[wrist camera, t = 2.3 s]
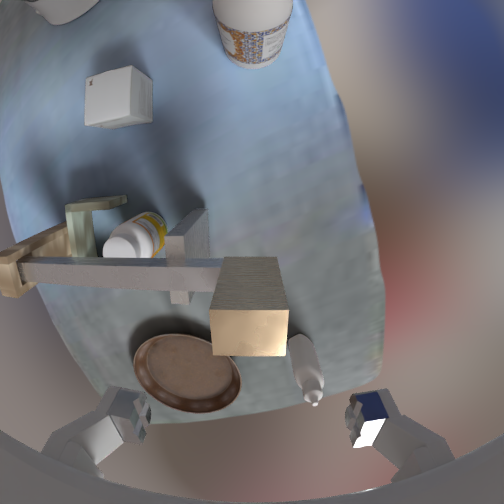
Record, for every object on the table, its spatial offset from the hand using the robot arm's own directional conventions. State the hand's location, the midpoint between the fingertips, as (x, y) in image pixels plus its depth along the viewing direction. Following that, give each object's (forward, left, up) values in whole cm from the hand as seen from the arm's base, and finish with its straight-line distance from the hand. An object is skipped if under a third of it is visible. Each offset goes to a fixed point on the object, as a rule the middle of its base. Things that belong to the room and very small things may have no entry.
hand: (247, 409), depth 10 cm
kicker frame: (0, -20, -27) cm, 34 cm away
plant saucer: (+23, -10, -28) cm, 37 cm away
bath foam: (-24, 0, -27) cm, 36 cm away
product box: (-17, -15, -27) cm, 36 cm away
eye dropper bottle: (+18, +8, -27) cm, 34 cm away
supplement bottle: (0, -13, -27) cm, 30 cm away
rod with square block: (0, -11, -26) cm, 28 cm away
